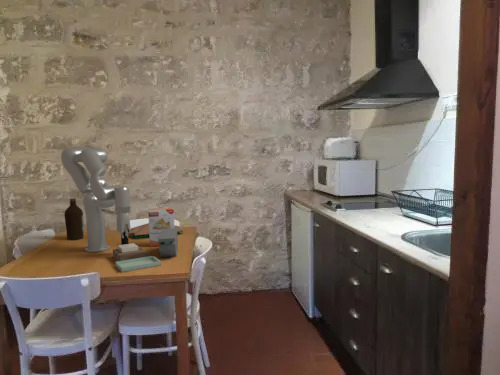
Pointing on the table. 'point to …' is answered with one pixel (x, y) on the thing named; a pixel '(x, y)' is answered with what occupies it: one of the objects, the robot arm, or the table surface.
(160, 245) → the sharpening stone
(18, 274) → the table surface
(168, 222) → the cracker box
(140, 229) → the house
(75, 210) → the olive oil
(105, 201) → the robot arm
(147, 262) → the tray
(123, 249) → the coaster
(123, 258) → the riser
